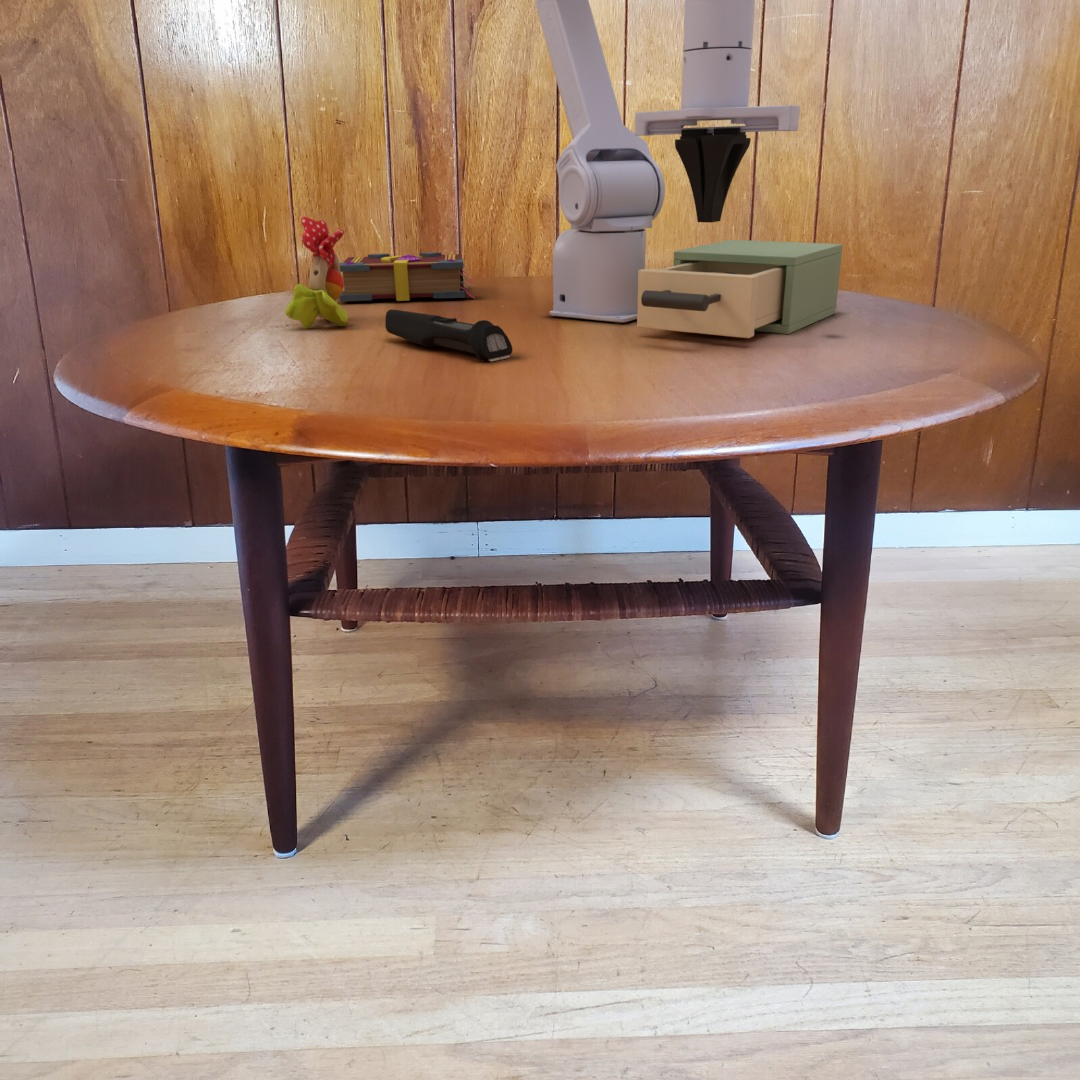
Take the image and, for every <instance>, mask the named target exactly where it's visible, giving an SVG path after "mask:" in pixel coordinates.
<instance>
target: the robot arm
mask: <svg viewBox="0 0 1080 1080" xmlns="http://www.w3.org/2000/svg"><path fill="white" fill-rule="evenodd" d="M755 3H756V0H684V17H683V18H684V19H683V45H682V52H683V53H682V69H681V70H682V74H681V96H680V97H681V100H680V109H671V110H655V111H653V110H652V111H641V112H640V111H639V112H635V113H634V131H632V130H631V129H630V128H628V127H627V126H626V125H624V123H623V120H622V116H621V113H620V109H619V105H618V101H617V99H616V95H615V91H614V87H613V84H612V83H613V82H612V81H611V77H610V73H609V69H608V65H607V62H606V59H605V55H604V51H603V48H602V43H601V40H600V37H599V33H598V30H597V29H598V28H597V26H596V23H595V19H594V15H593V12H592V8H591V4H590V1H589V0H534V4H535V9H536V11H537V15H538V18H539V23H540V26H541V29H542V30H541V31H542V33H543V38H544V41H545V44H546V48H547V52H548V55H549V59H550V62H551V67H552V70H553V74H554V77H555V81H556V84H557V88H558V91H559V95H560V99H561V102H562V106H563V110H564V113H565V118H566V120H567V124H568V128H569V132H570V135H571V139H572V140H570V142H569V143H568V144H567V146H566V147H565V148H564V149H563V150H562V152H561V153H560V155H559V157H558V160H557V162H556V165H555V169H556V173H557V177H558V200H559V205H560V209H561V211H562V214H563V215H564V218H565V220H566V221H567V222H568V223H569V224H570V228H568V229H565V230H563V231H562V232H560V234H559V235H558V237H557V239H556V241H555V244H554V247H553V251H552V252H553V253H552V296H553V297H552V301H553V302H552V306H553V310H550V311H549V316H551V317H561V318H572V319H579V320H580V319H582V320H590V321H591V320H593V321H601V322H602V321H603V322H610V323H611V322H612V323H628V322H632V321H634V320H637V310H638V271H639V270H641V269H646V254H647V253H646V250H647V248H646V247H647V229H651V228H653V221H654V220H655V219H656V218H657V217H658V215H659V214H660V212H661V210H662V207H663V205H664V201H665V197H666V195H665V194H666V185H665V179H664V178H665V177H664V175H663V173H662V170H661V168H660V165H658V163H657V162H656V161H655V160H654V158H653V156H652V154H651V152H650V151H651V150H650V148H649V144H648V142H647V141H646V140H644V139H643V138H642V137H644V136H647V137H648V136H663V135H664V136H666V135H667V136H669V135H671V136H672V135H680V137H679V139H675V140H674V148H675V150H676V152H677V154H678V156H679V158H680V160H681V162H682V165H683V168H684V170H685V172H686V176H687V178H688V181H689V182H688V183H689V185H690V188H691V193H692V197H693V201H694V206H695V213H696V221H697V223H709V224H711V223H718V222H721V220H722V214H723V210H724V206H725V203H726V199H727V197H728V193H729V190H730V187H731V184H732V183H733V182H732V181H733V179H734V177H735V174H736V172H737V170H738V168H739V166H740V164H741V162H742V160H743V158H744V156H745V154H746V153H747V151H748V149H749V147H750V145H751V141H752V140H751V137H747V136H748V135H747V134H746V133H763V132H766V133H767V132H798V131H799V124H800V111H801V110H800V109H801V106H800V105H796V104H795V105H793V104H792V105H791V104H788V105H787V104H786V105H785V104H784V105H763V106H762V105H760V106H749V104H750V103H749V102H750V100H749V99H750V84H751V69H752V67H751V66H752V54H753V52H752V51H753V39H754V38H753V37H754V24H755V23H754V22H755V5H756V4H755ZM704 121H705V122H708V121H730V124H731V125H732V124H733V125H732V126H731V125H730V126H726V125H725V126H703V127H702V126H699V127H694V126H697V125H698V122H704ZM686 126H687V127H686ZM691 126H693V127H691ZM640 136H642V137H640Z"/></svg>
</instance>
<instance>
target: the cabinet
mask: <svg viewBox="0 0 1080 1080" xmlns="http://www.w3.org/2000/svg"><path fill="white" fill-rule="evenodd" d="M843 247H844V245H843V244H842V243H826V242H825V243H822V242H800V241H799V242H798V241H797V242H796V241H775V240H774V241H773V240H772V241H771V240H770V241H769V240H750V239H749V240H748V239H728V240H727V239H726V240H723V241H717V242H713V243H708V244H702V245H698V246H692V247H688V248H683V249H679V250H675V251H673V261H672V266H676V265H680V264H685V263H689V262H693V261H711V262H730V263H749V264H767V265H786V266H787V268H786V280H785V292H784V304H783V316H782V318H781V319H778V320H776V321H773V322H771V323H768V324H766V325H763V326H761V327H758V328H756V329H754V332H760V333H761V332H762V333H772V334H784V335H789V334H792V333H794V332H796V331H799V330H800V329H801V330H802V329H803V328H806V327H807V326H810V325H812V324H815V323H816V322H819V321H821V320H823V319H826V318H828V317H830V316H832V315H835V314H836V313H837V312H836V311H837V303H838V292H839V285H840V284H839V283H840V274H841V264H842V257H843V256H842V255H843Z"/></svg>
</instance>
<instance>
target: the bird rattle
mask: <svg viewBox="0 0 1080 1080" xmlns="http://www.w3.org/2000/svg"><path fill="white" fill-rule="evenodd" d="M300 222H301V224H302V228H303V231H304V232H303V234H302V235H301V236H300V240H301V242H302V245H303V246H304V247H305V248H307V250H309V252H311V253H312V255H311V265H310V270H309V271H310V272H309V277H308V279H309V280H308V287H307V286H305V285H304V284H302V283H298V284H297V285H295V286H294V288H293V290H292V291H293V292H292V299H291V301H290V302H289V303H288V305H286V308H285V310H284V314H285V315H286V317H288V318H289V319H291V320H293V321H300V323H301V325H302V327H303V328H304V329H309V328H311V327H312V326H313V324H314V323H315V322H316V321H315V320H316V319H317V318H320V319H323V320H326V321H329V322H331V323H333V324H335V325H336V326H339V327H345V326H347V325H348V323H349V314H348V313H347V311H346V310H345V309H344V308H343V307H342V306H341V305H340V304H338V303H339V300H340V296H341V294H342V292H343V291H344V280H343V275H342V272H340V264H339V263H340V260H339V257H338V254H337V252H336V251H335V249H334V248H335V245H336V244H337V243H338V242H339V241H340V240H341V239H342V237H343V236H344V234H345V231H344V230H343V229H341V228H340V229H337V231H335V232H334V233H332V234H331V235H330V232H329V228H328V224H327V222H326V221H325V220H322V219H321V220H315V219H313V218H309V217H307V216H302V217H301V219H300Z"/></svg>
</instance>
